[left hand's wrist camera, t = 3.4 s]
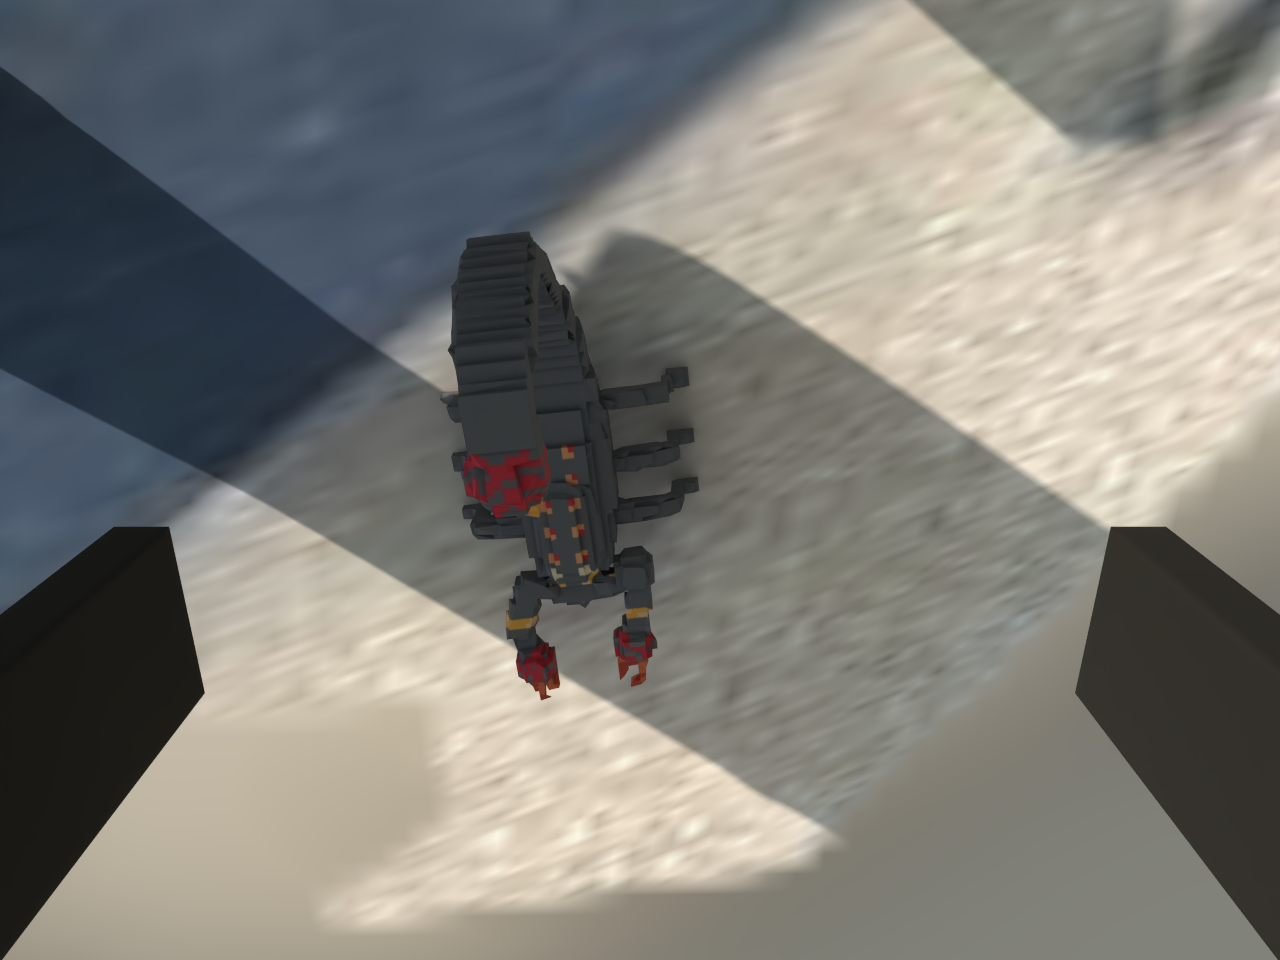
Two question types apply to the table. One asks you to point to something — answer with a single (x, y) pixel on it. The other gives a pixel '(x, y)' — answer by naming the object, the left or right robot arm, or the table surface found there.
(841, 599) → the table surface
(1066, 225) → the table surface
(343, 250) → the table surface
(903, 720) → the table surface
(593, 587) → the toy
